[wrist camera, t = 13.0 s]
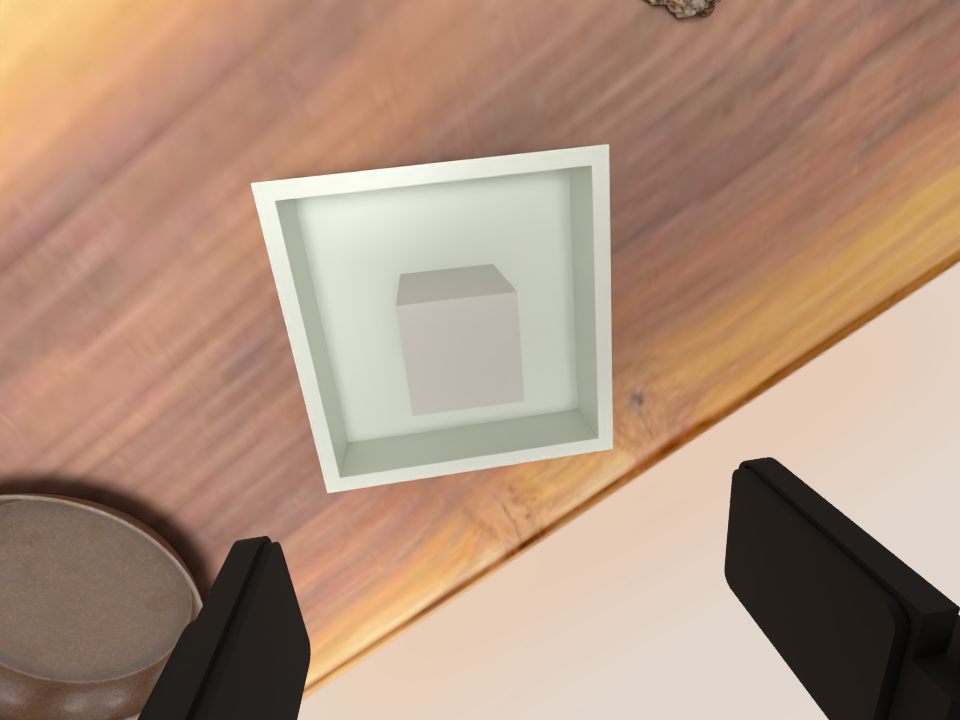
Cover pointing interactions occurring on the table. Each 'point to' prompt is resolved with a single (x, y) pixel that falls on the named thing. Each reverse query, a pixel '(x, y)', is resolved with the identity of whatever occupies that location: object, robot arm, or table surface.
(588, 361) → the sage bin
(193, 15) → the table surface
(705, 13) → the mineral rock
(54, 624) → the plant saucer
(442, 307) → the stone block
